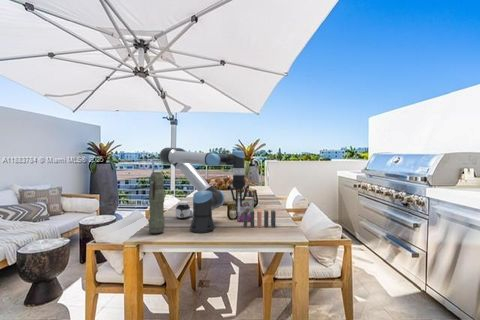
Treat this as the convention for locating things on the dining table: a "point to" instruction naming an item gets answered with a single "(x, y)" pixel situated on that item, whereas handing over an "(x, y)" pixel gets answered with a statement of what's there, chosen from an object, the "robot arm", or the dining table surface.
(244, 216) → the domino
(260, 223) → the domino
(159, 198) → the thermos
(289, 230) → the dining table surface
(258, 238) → the dining table surface
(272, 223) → the domino
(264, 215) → the domino
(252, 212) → the domino
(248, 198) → the candy bar box
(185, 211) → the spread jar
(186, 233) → the dining table surface
